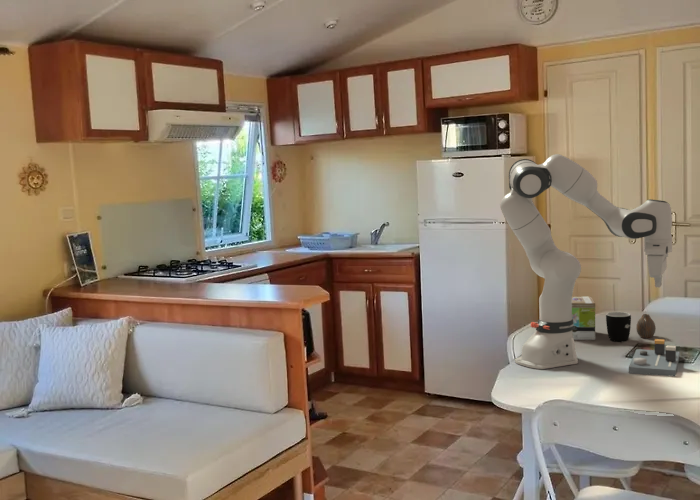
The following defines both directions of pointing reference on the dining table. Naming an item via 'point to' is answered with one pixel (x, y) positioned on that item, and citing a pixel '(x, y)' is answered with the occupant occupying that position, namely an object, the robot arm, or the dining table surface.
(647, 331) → the vase
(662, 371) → the console
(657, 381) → the dining table surface
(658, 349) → the fader orange
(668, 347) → the fader white
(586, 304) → the tea box
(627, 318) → the mug
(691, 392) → the dining table surface
